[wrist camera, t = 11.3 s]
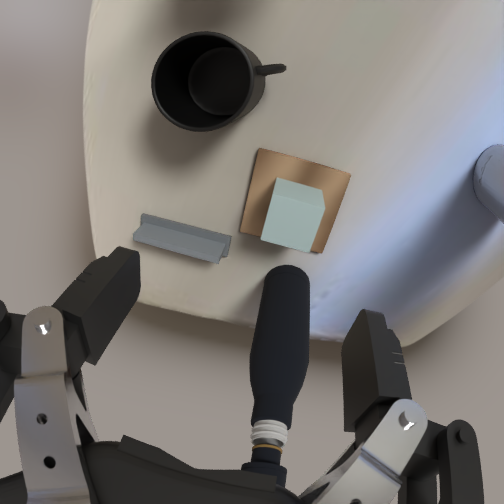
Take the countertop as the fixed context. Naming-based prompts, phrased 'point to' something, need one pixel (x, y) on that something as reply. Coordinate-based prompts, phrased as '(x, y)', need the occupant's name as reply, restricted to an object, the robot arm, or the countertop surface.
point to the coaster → (300, 172)
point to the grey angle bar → (182, 238)
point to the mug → (208, 81)
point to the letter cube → (293, 215)
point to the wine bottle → (278, 365)
